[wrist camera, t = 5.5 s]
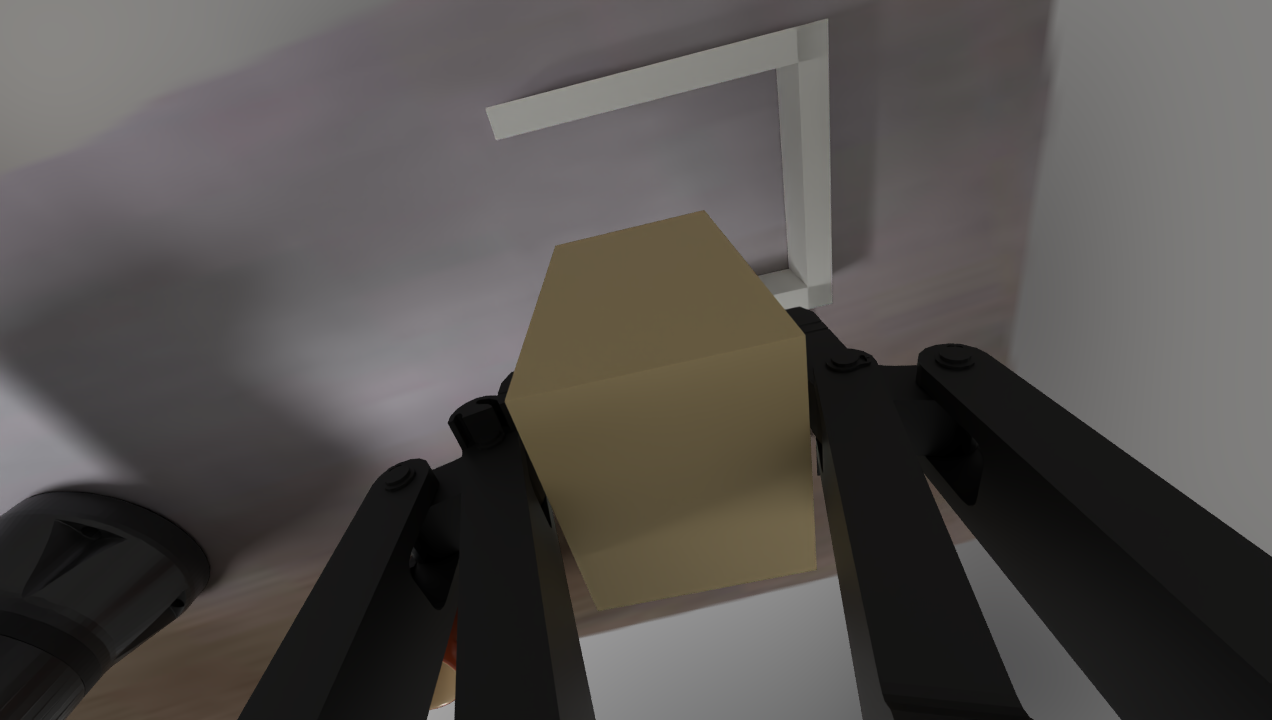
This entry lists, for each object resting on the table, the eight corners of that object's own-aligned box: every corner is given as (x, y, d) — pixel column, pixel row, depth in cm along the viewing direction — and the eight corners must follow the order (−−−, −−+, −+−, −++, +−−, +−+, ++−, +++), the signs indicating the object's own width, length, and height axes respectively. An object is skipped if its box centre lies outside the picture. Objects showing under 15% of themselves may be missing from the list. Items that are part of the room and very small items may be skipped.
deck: (620, 478, 41) (621, 509, 38) (498, 106, 26) (485, 108, 23) (817, 437, 40) (834, 466, 37) (801, 26, 25) (828, 18, 22)
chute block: (601, 392, 19) (597, 611, 11) (555, 245, 16) (504, 401, 8) (727, 365, 18) (816, 570, 10) (704, 209, 15) (805, 334, 8)
